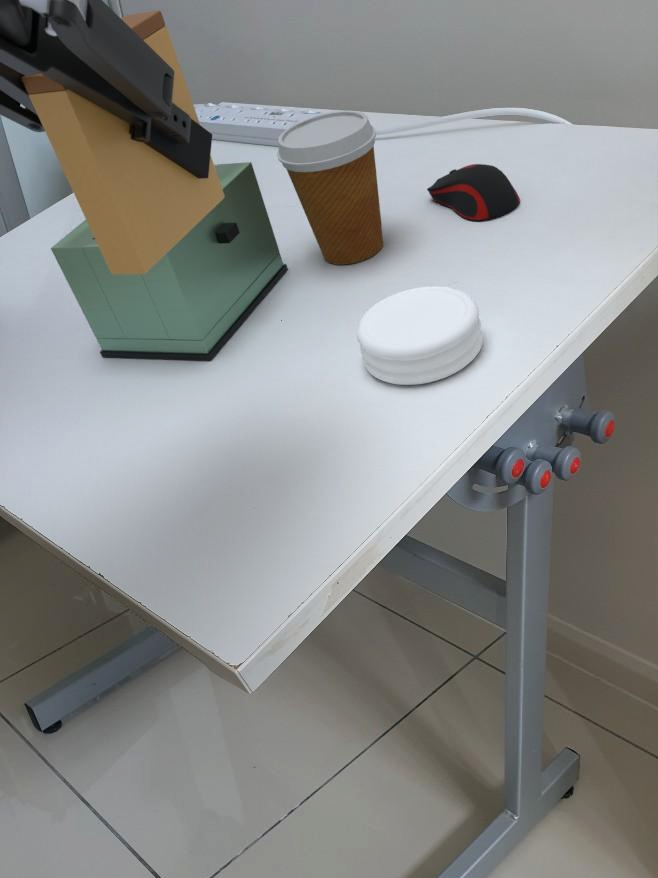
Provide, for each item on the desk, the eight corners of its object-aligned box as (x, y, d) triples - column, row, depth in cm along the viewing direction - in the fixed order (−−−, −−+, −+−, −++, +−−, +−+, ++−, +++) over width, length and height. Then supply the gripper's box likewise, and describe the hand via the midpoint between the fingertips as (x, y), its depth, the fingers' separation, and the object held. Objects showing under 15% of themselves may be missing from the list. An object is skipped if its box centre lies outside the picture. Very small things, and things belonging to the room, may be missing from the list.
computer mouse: (469, 178, 96) (464, 141, 93) (531, 202, 88) (527, 162, 86) (422, 200, 94) (415, 163, 91) (481, 226, 87) (475, 187, 84)
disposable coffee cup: (359, 279, 84) (327, 153, 76) (289, 266, 89) (252, 147, 81) (417, 233, 88) (393, 110, 80) (348, 223, 94) (318, 106, 86)
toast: (111, 274, 52) (20, 77, 44) (193, 198, 58) (126, 14, 51) (145, 274, 51) (57, 73, 44) (225, 197, 57) (161, 9, 50)
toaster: (102, 357, 83) (47, 249, 75) (187, 270, 93) (146, 168, 86) (220, 361, 78) (173, 246, 70) (296, 269, 88) (263, 160, 81)
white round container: (424, 309, 77) (417, 273, 75) (508, 339, 71) (503, 300, 69) (340, 365, 73) (330, 329, 71) (422, 402, 67) (413, 363, 65)
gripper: (-324, 27, 36) (82, 221, 58) (-55, -22, 30) (285, 214, 52) (-311, -157, 36) (92, 107, 58) (-37, -243, 30) (297, 87, 52)
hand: (183, 157), depth 55 cm, fingers closed on toast, 2 cm apart
